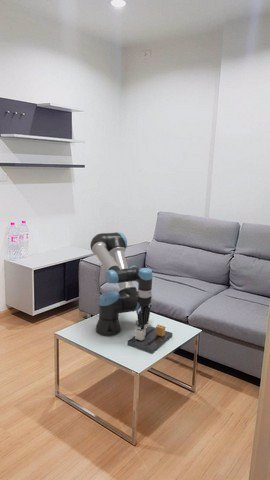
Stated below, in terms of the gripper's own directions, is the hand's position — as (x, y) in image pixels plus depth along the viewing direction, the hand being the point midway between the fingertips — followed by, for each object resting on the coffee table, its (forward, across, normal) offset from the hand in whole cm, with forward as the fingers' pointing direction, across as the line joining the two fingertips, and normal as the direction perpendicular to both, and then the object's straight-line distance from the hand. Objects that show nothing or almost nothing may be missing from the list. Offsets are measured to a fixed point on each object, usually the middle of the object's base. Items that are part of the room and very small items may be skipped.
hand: (143, 334), depth 207 cm
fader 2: (+1, +8, -7) cm, 11 cm away
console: (+4, +3, -3) cm, 6 cm away
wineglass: (+4, +18, +12) cm, 22 cm away
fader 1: (+1, -3, 0) cm, 4 cm away
